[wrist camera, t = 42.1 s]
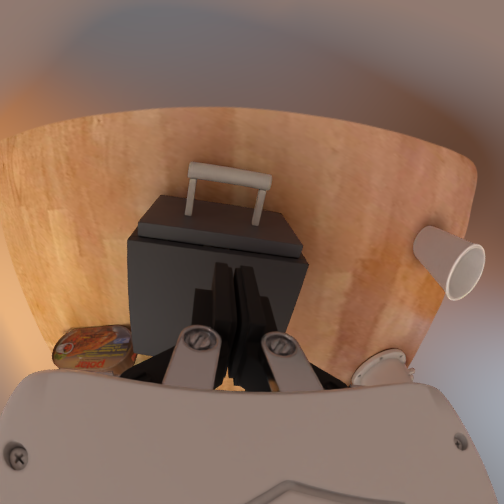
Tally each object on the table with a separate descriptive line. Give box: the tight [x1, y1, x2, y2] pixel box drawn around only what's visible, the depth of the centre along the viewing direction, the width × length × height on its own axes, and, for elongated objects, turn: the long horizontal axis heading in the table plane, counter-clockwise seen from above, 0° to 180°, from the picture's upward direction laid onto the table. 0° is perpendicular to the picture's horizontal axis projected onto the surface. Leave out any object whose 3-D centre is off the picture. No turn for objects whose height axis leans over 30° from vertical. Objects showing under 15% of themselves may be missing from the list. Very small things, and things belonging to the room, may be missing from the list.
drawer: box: [138, 162, 303, 258], centre depth 26 cm, size 16×13×9 cm
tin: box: [52, 325, 137, 374], centre depth 32 cm, size 15×3×8 cm, turn 98°
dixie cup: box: [413, 226, 485, 301], centre depth 31 cm, size 8×8×10 cm
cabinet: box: [127, 227, 309, 356], centre depth 28 cm, size 13×15×11 cm
